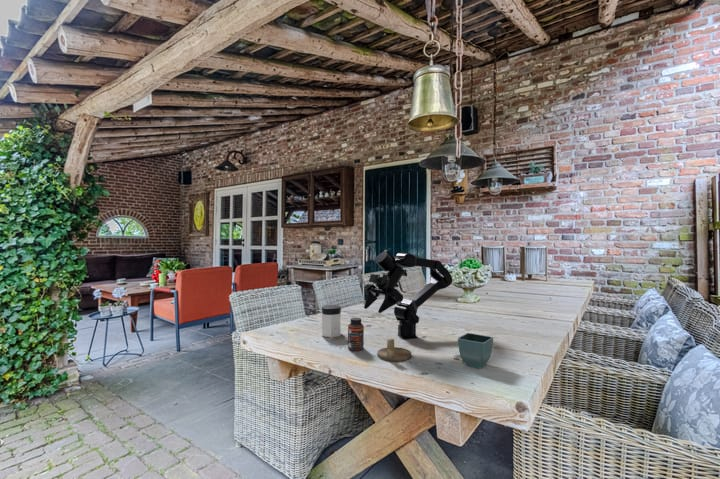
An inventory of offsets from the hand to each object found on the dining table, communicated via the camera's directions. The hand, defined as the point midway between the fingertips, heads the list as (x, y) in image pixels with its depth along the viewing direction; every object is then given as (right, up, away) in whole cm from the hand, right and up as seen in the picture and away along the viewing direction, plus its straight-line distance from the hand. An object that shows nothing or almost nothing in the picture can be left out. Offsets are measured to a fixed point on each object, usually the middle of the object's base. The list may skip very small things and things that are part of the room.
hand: (371, 310), depth 134 cm
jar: (-17, -13, +14) cm, 26 cm away
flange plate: (+7, -13, -12) cm, 20 cm away
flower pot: (+33, -14, -22) cm, 42 cm away
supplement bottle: (-6, -14, -5) cm, 16 cm away
